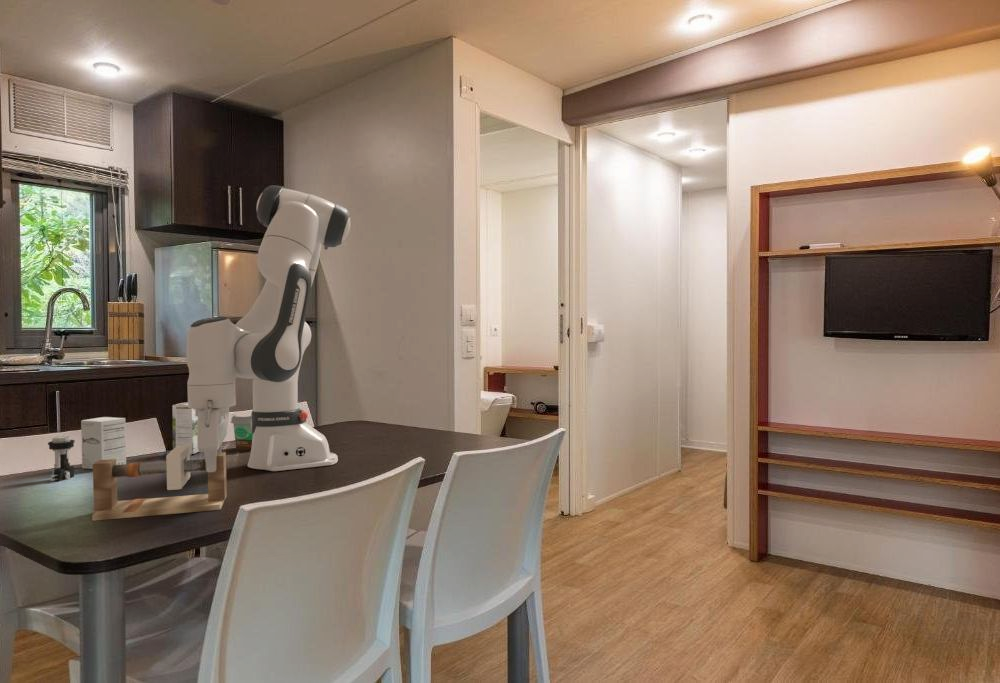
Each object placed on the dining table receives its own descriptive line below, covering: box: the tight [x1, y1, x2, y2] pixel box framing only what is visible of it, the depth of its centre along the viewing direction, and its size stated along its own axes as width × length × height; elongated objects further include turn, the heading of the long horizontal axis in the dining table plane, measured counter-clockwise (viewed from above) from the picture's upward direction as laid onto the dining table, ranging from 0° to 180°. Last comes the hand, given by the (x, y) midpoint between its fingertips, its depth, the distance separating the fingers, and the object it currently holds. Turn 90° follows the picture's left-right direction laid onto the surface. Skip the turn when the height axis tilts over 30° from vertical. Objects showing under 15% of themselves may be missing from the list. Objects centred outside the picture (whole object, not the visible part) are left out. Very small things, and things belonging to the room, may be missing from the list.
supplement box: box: [80, 416, 127, 470], centre depth 172 cm, size 7×7×13 cm
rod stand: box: [91, 451, 228, 521], centre depth 130 cm, size 23×10×10 cm, turn 107°
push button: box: [47, 435, 75, 482], centre depth 158 cm, size 7×5×10 cm
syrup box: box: [171, 401, 200, 455], centre depth 188 cm, size 6×6×14 cm
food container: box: [230, 413, 253, 452], centre depth 194 cm, size 12×6×10 cm, turn 81°
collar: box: [165, 445, 191, 491], centre depth 131 cm, size 2×11×7 cm, turn 16°
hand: (213, 466), depth 133 cm, fingers open, 8 cm apart
